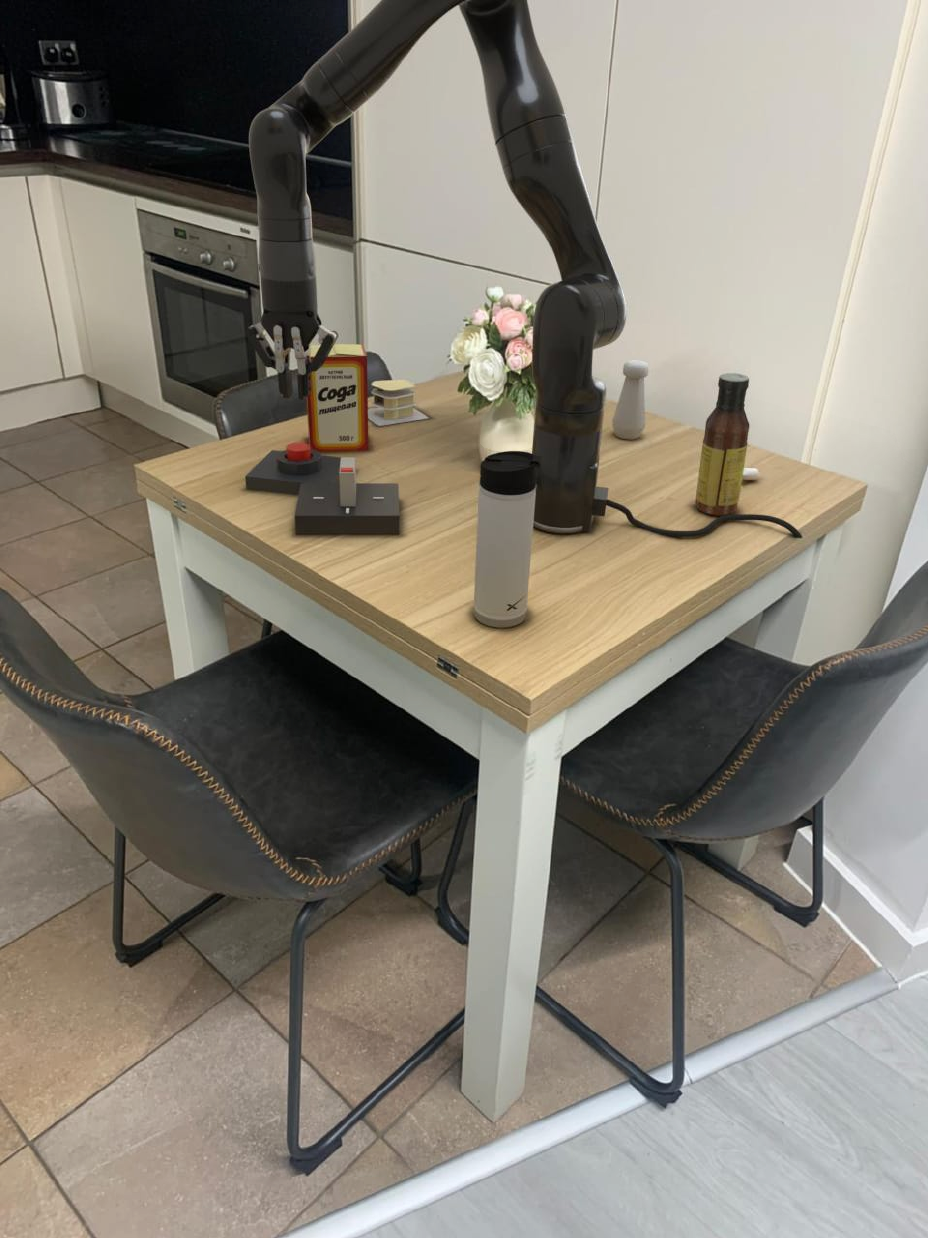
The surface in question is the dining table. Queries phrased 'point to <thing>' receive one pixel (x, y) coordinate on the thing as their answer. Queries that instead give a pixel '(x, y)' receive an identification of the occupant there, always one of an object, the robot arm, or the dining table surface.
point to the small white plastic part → (750, 474)
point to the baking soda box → (339, 400)
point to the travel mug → (504, 537)
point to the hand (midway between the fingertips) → (295, 396)
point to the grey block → (347, 481)
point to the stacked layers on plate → (393, 403)
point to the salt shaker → (631, 402)
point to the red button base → (292, 472)
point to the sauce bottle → (724, 449)
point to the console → (347, 510)
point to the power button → (298, 452)
